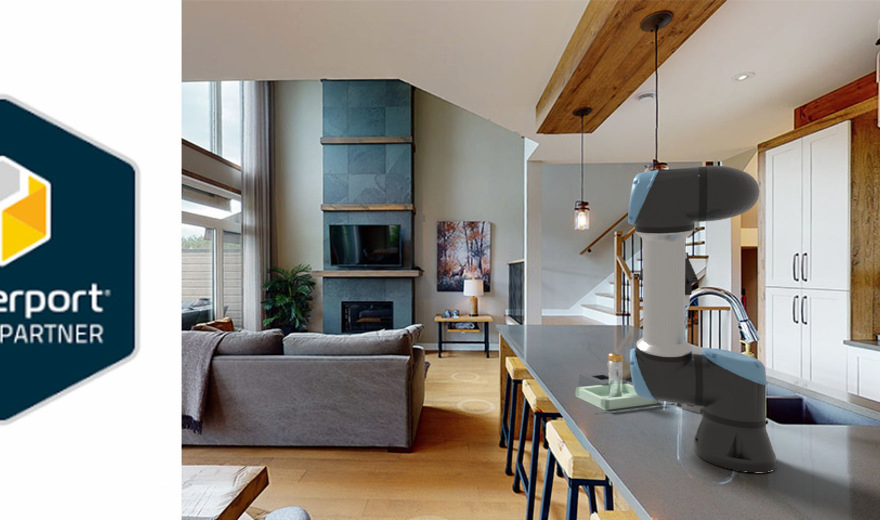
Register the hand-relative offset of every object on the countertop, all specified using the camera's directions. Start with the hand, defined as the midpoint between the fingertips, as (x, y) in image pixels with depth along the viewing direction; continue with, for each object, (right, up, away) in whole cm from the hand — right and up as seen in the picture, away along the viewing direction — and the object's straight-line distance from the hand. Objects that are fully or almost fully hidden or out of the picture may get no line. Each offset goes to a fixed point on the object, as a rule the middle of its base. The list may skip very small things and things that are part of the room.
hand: (666, 303), depth 136 cm
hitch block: (-17, -30, +10) cm, 36 cm away
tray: (-18, -30, -3) cm, 35 cm away
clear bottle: (-18, -29, -3) cm, 34 cm away
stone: (-4, -31, +24) cm, 39 cm away
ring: (+8, -31, -7) cm, 33 cm away
